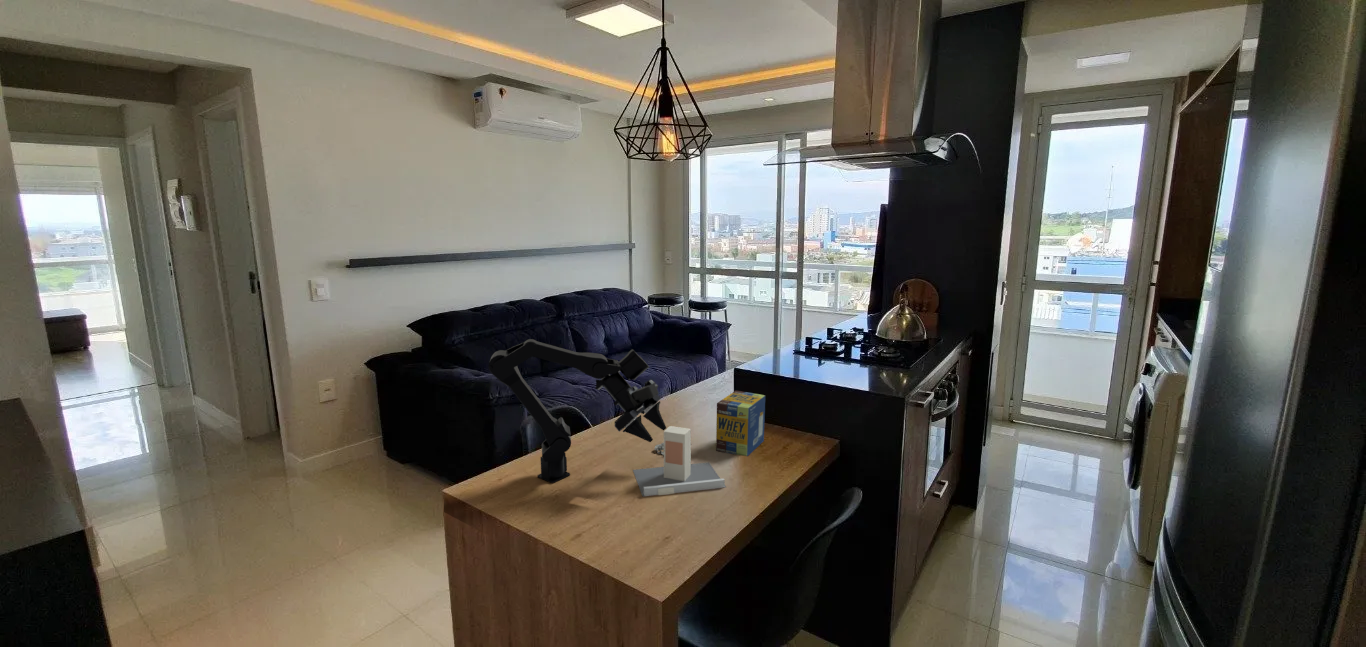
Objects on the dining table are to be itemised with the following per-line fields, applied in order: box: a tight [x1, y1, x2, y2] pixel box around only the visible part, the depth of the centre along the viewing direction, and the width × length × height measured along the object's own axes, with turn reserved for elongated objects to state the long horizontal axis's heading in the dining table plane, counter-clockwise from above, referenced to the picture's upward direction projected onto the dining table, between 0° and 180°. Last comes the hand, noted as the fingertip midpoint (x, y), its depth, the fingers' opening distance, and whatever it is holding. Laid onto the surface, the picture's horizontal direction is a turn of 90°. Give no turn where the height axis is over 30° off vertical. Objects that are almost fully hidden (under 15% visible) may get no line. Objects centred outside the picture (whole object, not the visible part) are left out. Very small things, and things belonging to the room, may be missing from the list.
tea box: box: [663, 425, 692, 481], centre depth 152 cm, size 6×5×13 cm
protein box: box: [715, 390, 766, 457], centre depth 177 cm, size 10×15×16 cm
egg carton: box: [653, 442, 692, 456], centre depth 171 cm, size 11×8×4 cm
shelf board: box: [632, 461, 727, 497], centre depth 151 cm, size 22×16×4 cm
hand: (658, 435), depth 153 cm, fingers open, 9 cm apart
